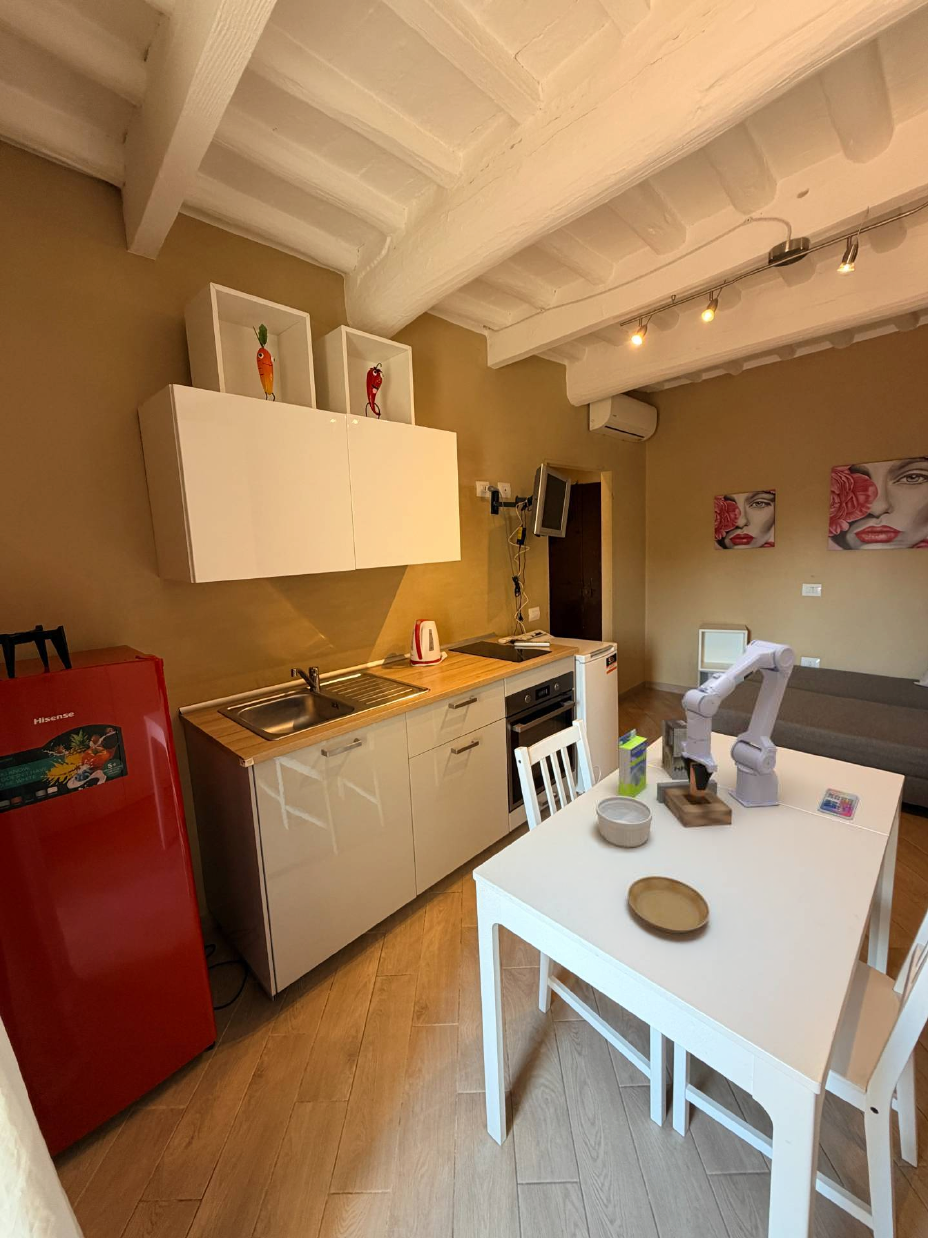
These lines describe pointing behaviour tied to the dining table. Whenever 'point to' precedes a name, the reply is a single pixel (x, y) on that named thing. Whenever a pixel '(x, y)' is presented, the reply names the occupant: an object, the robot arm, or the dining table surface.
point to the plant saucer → (668, 904)
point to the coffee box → (673, 747)
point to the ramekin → (624, 820)
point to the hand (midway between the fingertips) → (697, 786)
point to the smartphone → (839, 804)
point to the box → (632, 764)
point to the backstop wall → (681, 784)
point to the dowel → (694, 783)
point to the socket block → (697, 808)
